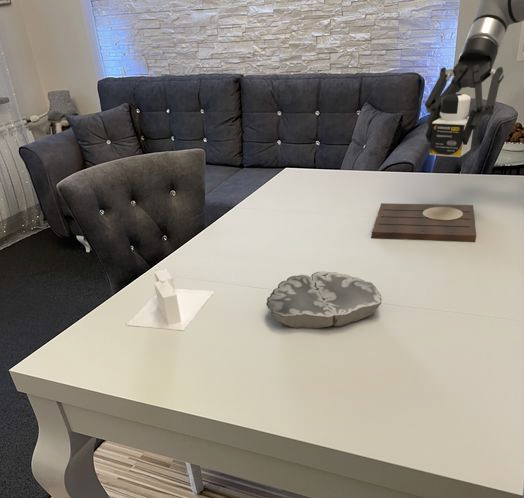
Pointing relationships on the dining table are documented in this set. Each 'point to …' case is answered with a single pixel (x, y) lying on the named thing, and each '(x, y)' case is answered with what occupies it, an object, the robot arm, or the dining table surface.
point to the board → (425, 222)
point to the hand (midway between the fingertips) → (446, 139)
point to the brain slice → (323, 300)
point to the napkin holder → (170, 305)
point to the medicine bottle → (451, 127)
